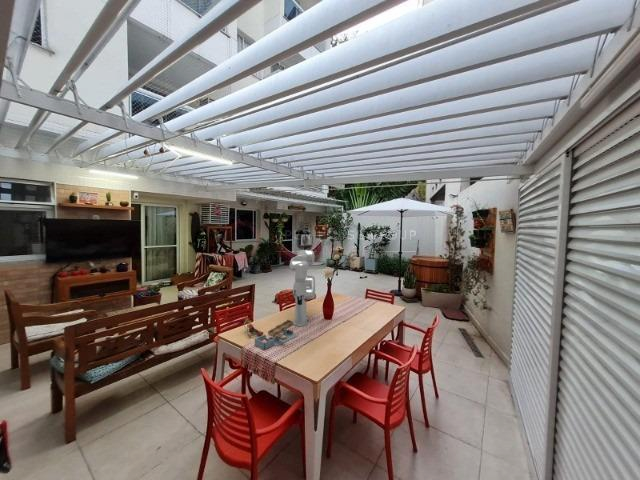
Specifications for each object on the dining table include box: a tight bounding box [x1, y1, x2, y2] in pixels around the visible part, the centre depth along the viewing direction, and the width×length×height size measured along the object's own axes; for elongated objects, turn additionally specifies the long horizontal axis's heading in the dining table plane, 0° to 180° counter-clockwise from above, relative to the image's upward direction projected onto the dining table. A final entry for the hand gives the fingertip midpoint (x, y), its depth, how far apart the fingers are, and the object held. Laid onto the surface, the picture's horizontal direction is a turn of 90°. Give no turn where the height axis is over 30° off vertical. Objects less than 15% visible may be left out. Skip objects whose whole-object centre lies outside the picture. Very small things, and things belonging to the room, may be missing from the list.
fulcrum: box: [268, 324, 298, 347], centre depth 189 cm, size 21×12×8 cm, turn 141°
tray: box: [254, 334, 276, 351], centre depth 178 cm, size 9×11×5 cm
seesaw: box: [267, 319, 294, 340], centre depth 187 cm, size 20×15×3 cm
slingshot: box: [243, 317, 264, 338], centre depth 195 cm, size 17×10×15 cm
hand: (299, 304), depth 184 cm, fingers closed
